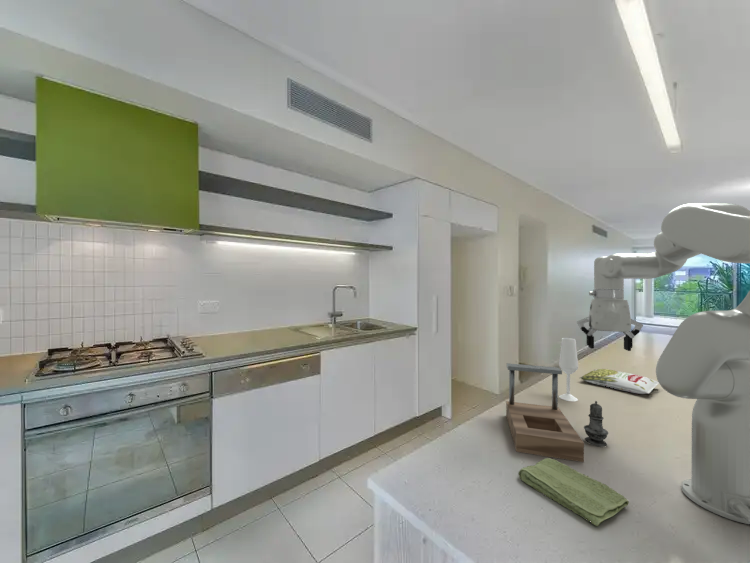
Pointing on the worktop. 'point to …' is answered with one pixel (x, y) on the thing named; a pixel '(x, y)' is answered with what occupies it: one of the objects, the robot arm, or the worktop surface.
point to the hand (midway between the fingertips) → (608, 349)
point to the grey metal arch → (531, 368)
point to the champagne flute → (568, 363)
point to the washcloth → (574, 490)
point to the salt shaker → (596, 427)
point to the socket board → (543, 432)
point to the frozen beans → (621, 381)
